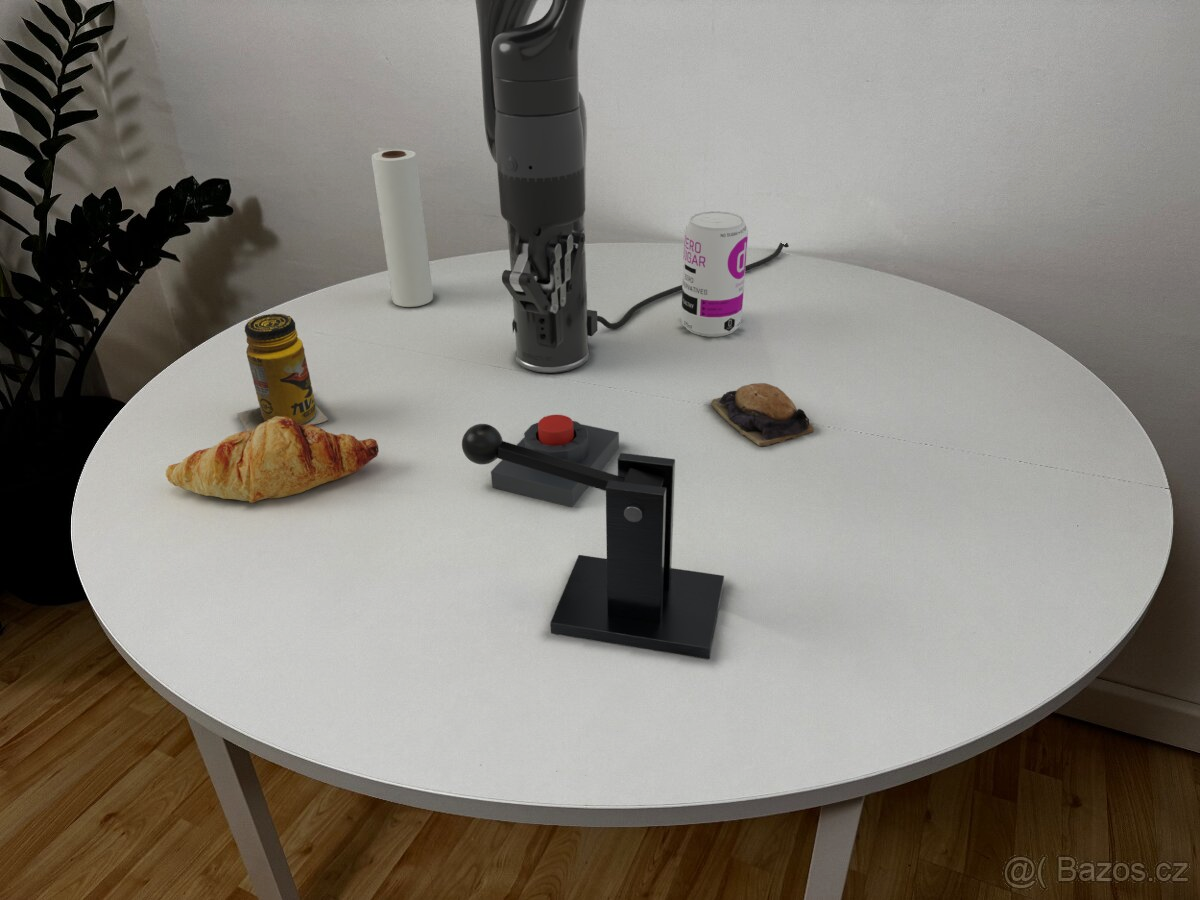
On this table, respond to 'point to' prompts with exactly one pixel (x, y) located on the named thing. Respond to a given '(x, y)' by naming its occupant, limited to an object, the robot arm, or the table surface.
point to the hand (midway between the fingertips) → (550, 343)
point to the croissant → (271, 461)
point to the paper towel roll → (403, 226)
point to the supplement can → (713, 273)
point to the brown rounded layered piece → (762, 414)
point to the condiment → (279, 373)
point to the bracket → (640, 575)
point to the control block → (584, 449)
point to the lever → (542, 460)
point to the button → (555, 430)
